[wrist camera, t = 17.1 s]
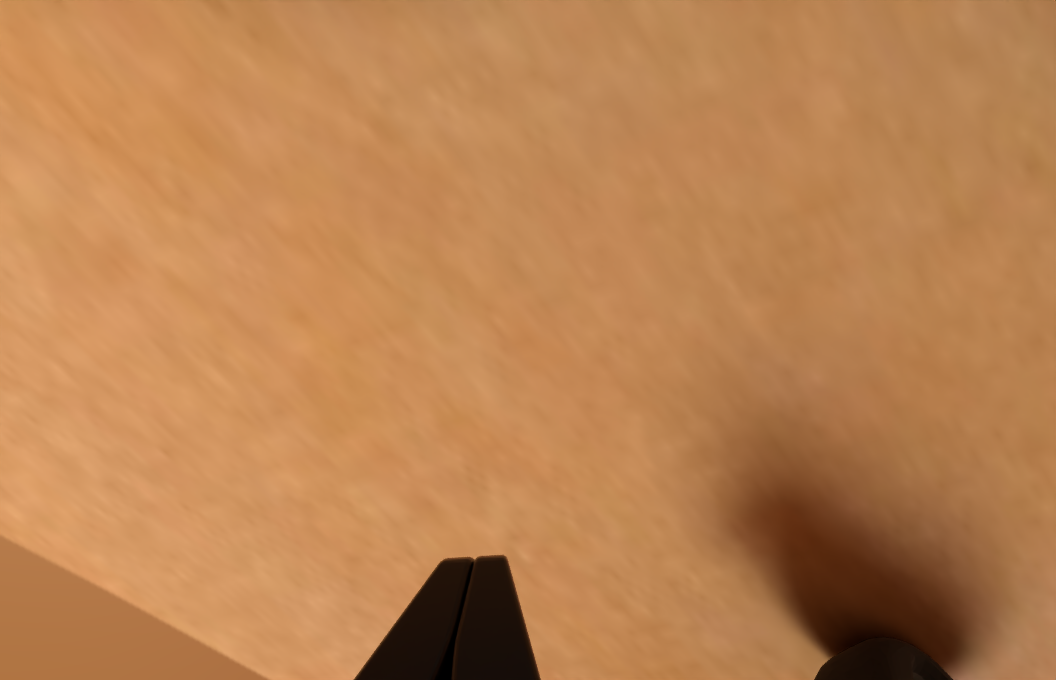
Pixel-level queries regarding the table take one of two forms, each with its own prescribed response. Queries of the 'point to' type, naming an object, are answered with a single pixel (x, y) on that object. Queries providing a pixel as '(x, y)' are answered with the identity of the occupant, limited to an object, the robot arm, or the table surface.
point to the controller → (882, 663)
